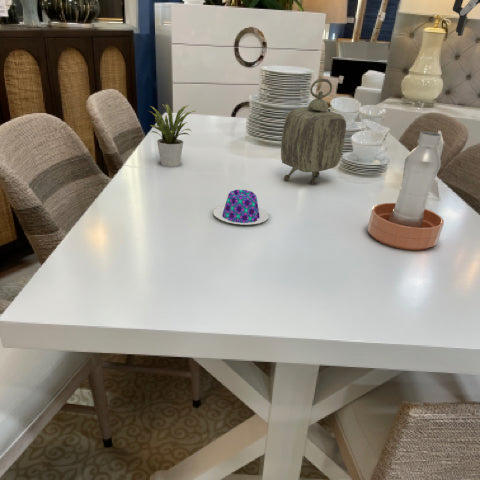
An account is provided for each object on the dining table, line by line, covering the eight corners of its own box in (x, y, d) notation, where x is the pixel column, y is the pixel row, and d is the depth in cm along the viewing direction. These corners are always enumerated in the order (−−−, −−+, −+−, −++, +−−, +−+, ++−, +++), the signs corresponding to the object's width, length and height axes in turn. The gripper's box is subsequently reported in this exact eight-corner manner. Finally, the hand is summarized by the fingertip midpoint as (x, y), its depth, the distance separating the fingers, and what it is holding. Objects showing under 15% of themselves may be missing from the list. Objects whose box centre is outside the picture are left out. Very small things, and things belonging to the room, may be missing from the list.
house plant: (202, 159, 138) (204, 99, 129) (198, 173, 127) (199, 107, 118) (154, 155, 138) (152, 94, 129) (145, 169, 126) (142, 102, 117)
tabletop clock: (316, 174, 134) (332, 76, 120) (339, 183, 128) (358, 81, 114) (276, 180, 127) (288, 76, 113) (298, 190, 121) (314, 82, 107)
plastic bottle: (386, 225, 102) (411, 128, 91) (419, 231, 100) (448, 133, 89) (384, 236, 97) (411, 134, 86) (418, 242, 95) (450, 139, 84)
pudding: (206, 208, 105) (207, 185, 102) (256, 205, 109) (258, 183, 106) (222, 229, 96) (224, 204, 93) (276, 225, 99) (279, 201, 96)
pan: (425, 227, 105) (431, 205, 102) (445, 255, 93) (453, 231, 90) (361, 222, 105) (366, 200, 102) (374, 249, 93) (379, 225, 90)
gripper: (546, -51, 97) (515, 40, 106) (473, -52, 103) (450, 34, 112) (543, -56, 91) (511, 40, 100) (467, -58, 97) (443, 34, 106)
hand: (479, 37), depth 106 cm, fingers open, 8 cm apart
